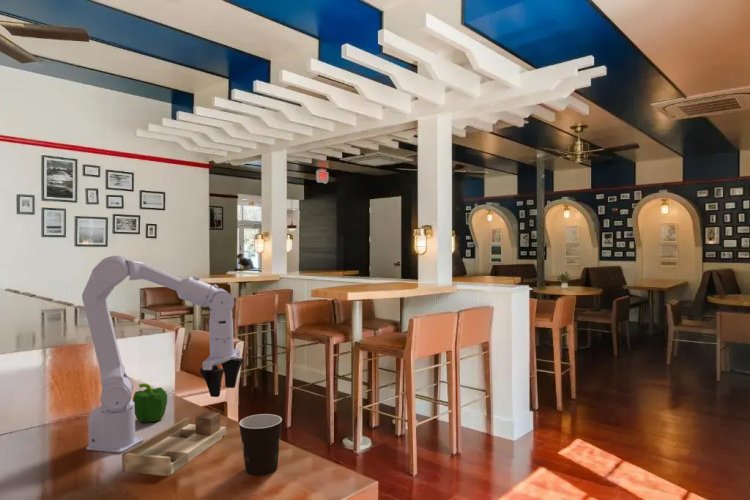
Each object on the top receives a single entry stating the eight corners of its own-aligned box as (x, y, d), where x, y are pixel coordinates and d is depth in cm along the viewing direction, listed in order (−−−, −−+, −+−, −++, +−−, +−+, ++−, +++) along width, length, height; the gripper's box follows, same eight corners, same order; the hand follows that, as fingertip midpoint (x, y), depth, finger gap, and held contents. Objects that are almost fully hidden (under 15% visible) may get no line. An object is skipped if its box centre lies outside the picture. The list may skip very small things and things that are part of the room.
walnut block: (195, 434, 122) (195, 417, 122) (205, 428, 126) (204, 411, 126) (211, 435, 121) (210, 418, 121) (219, 429, 125) (219, 412, 125)
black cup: (273, 480, 102) (272, 429, 102) (232, 476, 104) (231, 427, 104) (294, 456, 113) (293, 410, 113) (257, 453, 115) (256, 408, 115)
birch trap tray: (122, 471, 107) (121, 454, 107) (186, 431, 129) (186, 417, 129) (168, 476, 104) (168, 458, 104) (226, 434, 127) (226, 420, 127)
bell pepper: (172, 414, 143) (171, 378, 143) (161, 424, 135) (160, 386, 134) (141, 415, 142) (140, 379, 142) (128, 426, 134) (127, 387, 134)
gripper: (220, 343, 122) (222, 401, 122) (249, 332, 136) (251, 384, 136) (194, 343, 123) (195, 400, 124) (225, 332, 137) (226, 383, 138)
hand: (223, 391), depth 130 cm, fingers open, 7 cm apart
